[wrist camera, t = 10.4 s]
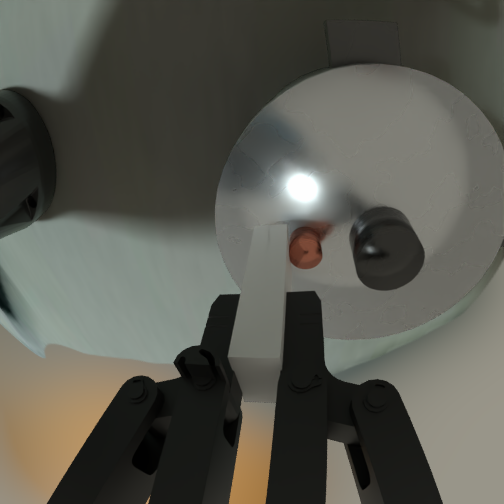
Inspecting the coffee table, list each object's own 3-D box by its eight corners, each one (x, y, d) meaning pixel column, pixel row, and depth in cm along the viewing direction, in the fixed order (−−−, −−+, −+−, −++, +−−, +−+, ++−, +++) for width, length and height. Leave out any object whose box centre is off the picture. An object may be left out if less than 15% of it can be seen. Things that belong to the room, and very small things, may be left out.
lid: (246, 331, 20) (240, 370, 17) (188, 80, 11) (160, 89, 9) (469, 314, 17) (483, 348, 15) (521, 85, 8) (561, 100, 6)
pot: (269, 269, 28) (259, 341, 21) (231, 40, 17) (196, 34, 10) (431, 261, 25) (460, 328, 18) (449, 40, 14) (517, 46, 7)
